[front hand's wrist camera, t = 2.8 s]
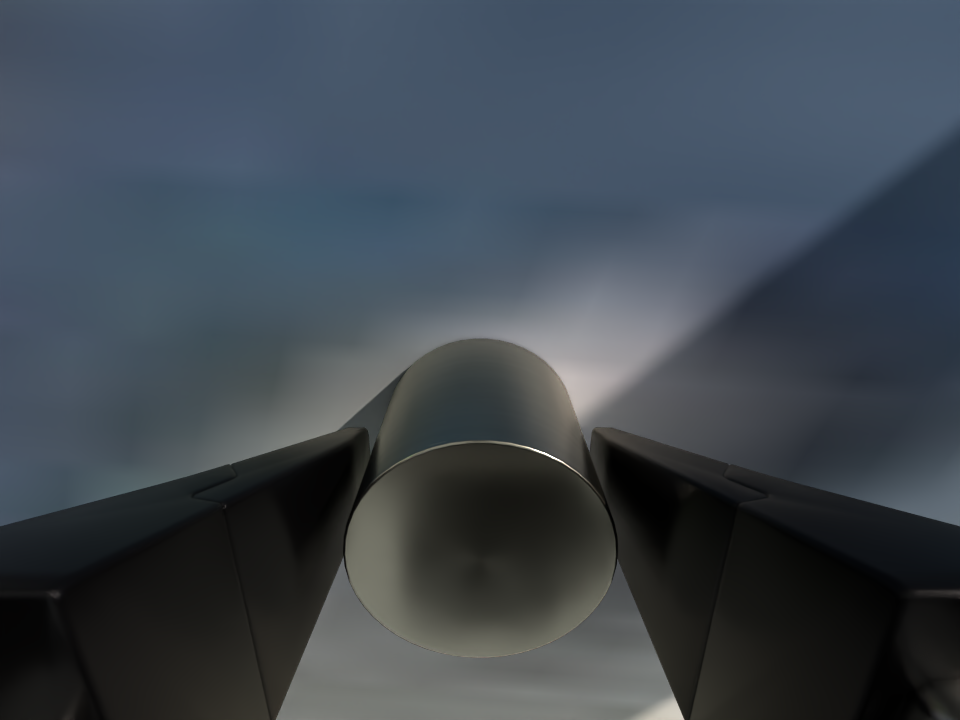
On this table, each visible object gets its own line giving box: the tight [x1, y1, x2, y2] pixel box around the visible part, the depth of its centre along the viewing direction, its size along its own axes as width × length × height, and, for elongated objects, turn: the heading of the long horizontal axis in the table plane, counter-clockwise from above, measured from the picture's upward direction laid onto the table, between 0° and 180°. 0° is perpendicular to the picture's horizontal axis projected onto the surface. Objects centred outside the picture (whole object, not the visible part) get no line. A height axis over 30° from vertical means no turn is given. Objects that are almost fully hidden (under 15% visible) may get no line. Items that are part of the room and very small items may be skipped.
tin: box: [343, 339, 618, 658], centre depth 10 cm, size 4×4×4 cm
